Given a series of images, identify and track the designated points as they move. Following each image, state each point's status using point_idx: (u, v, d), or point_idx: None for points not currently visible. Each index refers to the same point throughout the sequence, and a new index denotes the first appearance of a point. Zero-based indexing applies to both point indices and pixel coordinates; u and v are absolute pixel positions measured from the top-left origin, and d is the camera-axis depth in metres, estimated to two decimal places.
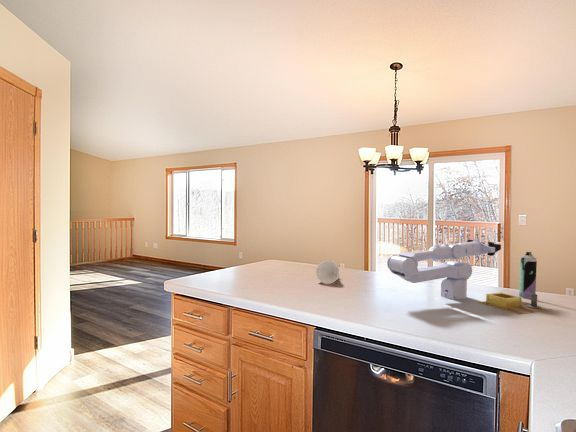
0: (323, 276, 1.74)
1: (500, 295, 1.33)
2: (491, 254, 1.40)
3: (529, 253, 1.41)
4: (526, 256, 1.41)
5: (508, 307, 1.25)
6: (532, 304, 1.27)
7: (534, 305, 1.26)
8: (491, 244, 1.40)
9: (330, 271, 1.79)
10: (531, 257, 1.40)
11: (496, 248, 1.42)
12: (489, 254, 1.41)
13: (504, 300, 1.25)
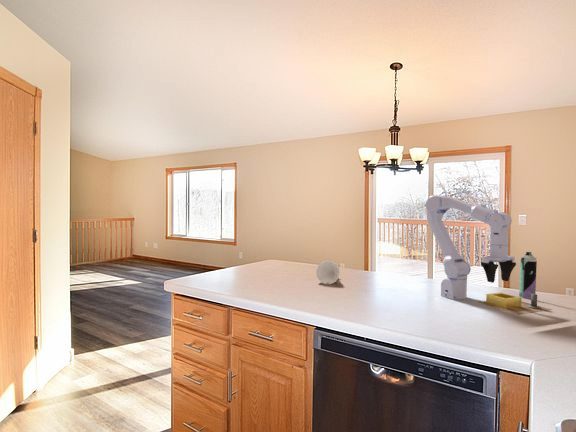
0: (323, 276, 1.73)
1: (500, 295, 1.33)
2: None
3: (529, 253, 1.41)
4: (526, 256, 1.41)
5: (508, 307, 1.25)
6: (532, 304, 1.27)
7: (534, 305, 1.26)
8: (493, 264, 1.24)
9: (329, 271, 1.78)
10: (531, 257, 1.40)
11: (489, 274, 1.27)
12: None
13: (504, 300, 1.25)
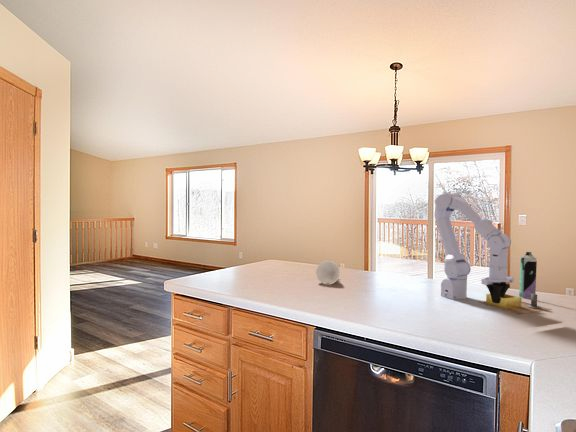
0: (322, 277, 1.72)
1: None
2: None
3: (529, 253, 1.41)
4: (526, 256, 1.41)
5: (508, 307, 1.25)
6: (532, 304, 1.27)
7: (534, 305, 1.26)
8: (497, 285, 1.25)
9: (329, 271, 1.77)
10: (531, 257, 1.40)
11: (493, 295, 1.28)
12: None
13: (504, 300, 1.25)
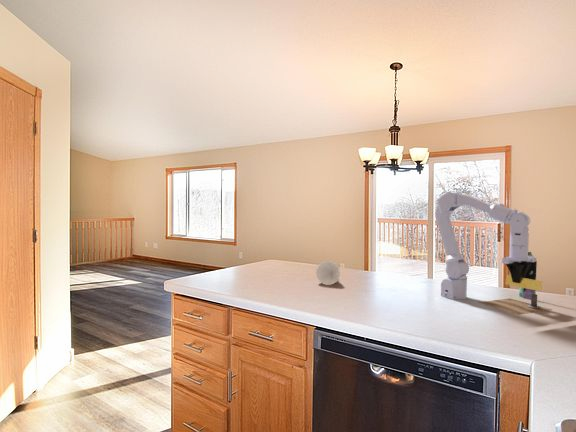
0: (322, 277, 1.71)
1: None
2: None
3: (529, 253, 1.41)
4: None
5: (529, 287, 1.23)
6: (532, 304, 1.27)
7: (534, 305, 1.26)
8: (518, 264, 1.23)
9: (328, 272, 1.77)
10: None
11: (514, 275, 1.26)
12: None
13: (526, 279, 1.23)
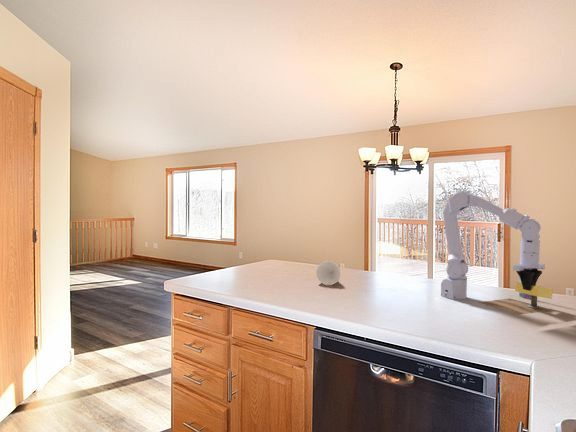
0: (322, 277, 1.71)
1: None
2: None
3: None
4: None
5: (539, 295, 1.22)
6: (532, 304, 1.27)
7: (534, 305, 1.26)
8: (529, 272, 1.23)
9: (328, 272, 1.76)
10: None
11: (525, 282, 1.25)
12: None
13: (537, 287, 1.22)
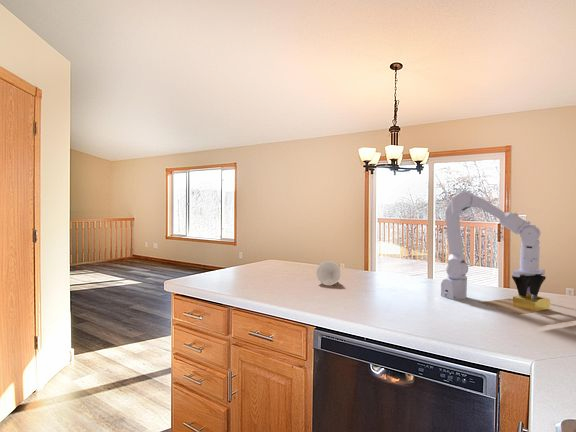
0: (322, 277, 1.70)
1: (527, 296, 1.30)
2: (512, 275, 1.25)
3: None
4: None
5: (537, 310, 1.22)
6: None
7: None
8: (525, 278, 1.22)
9: (327, 272, 1.76)
10: None
11: (520, 288, 1.24)
12: None
13: (533, 302, 1.22)
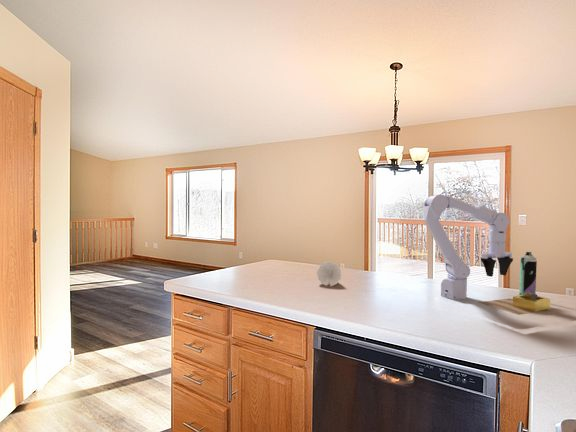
0: (322, 278, 1.69)
1: (527, 296, 1.30)
2: (482, 257, 1.39)
3: (529, 253, 1.41)
4: (526, 256, 1.41)
5: (537, 310, 1.22)
6: None
7: None
8: (491, 260, 1.36)
9: (327, 272, 1.75)
10: (531, 257, 1.40)
11: (488, 269, 1.38)
12: None
13: (533, 302, 1.22)
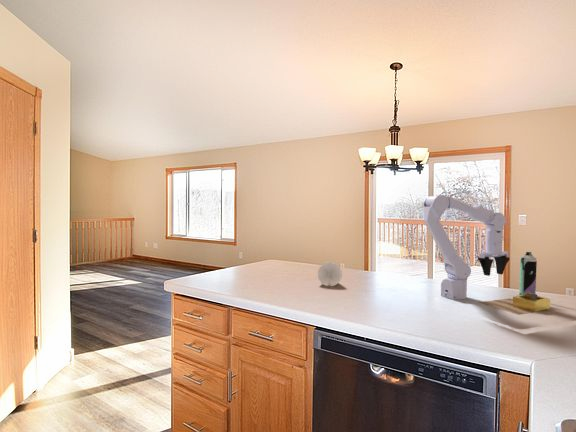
0: (322, 278, 1.68)
1: (527, 296, 1.30)
2: (479, 257, 1.41)
3: (529, 253, 1.41)
4: (526, 256, 1.41)
5: (537, 310, 1.22)
6: None
7: None
8: (488, 259, 1.37)
9: (326, 273, 1.74)
10: (531, 257, 1.40)
11: (485, 268, 1.40)
12: None
13: (533, 302, 1.22)
